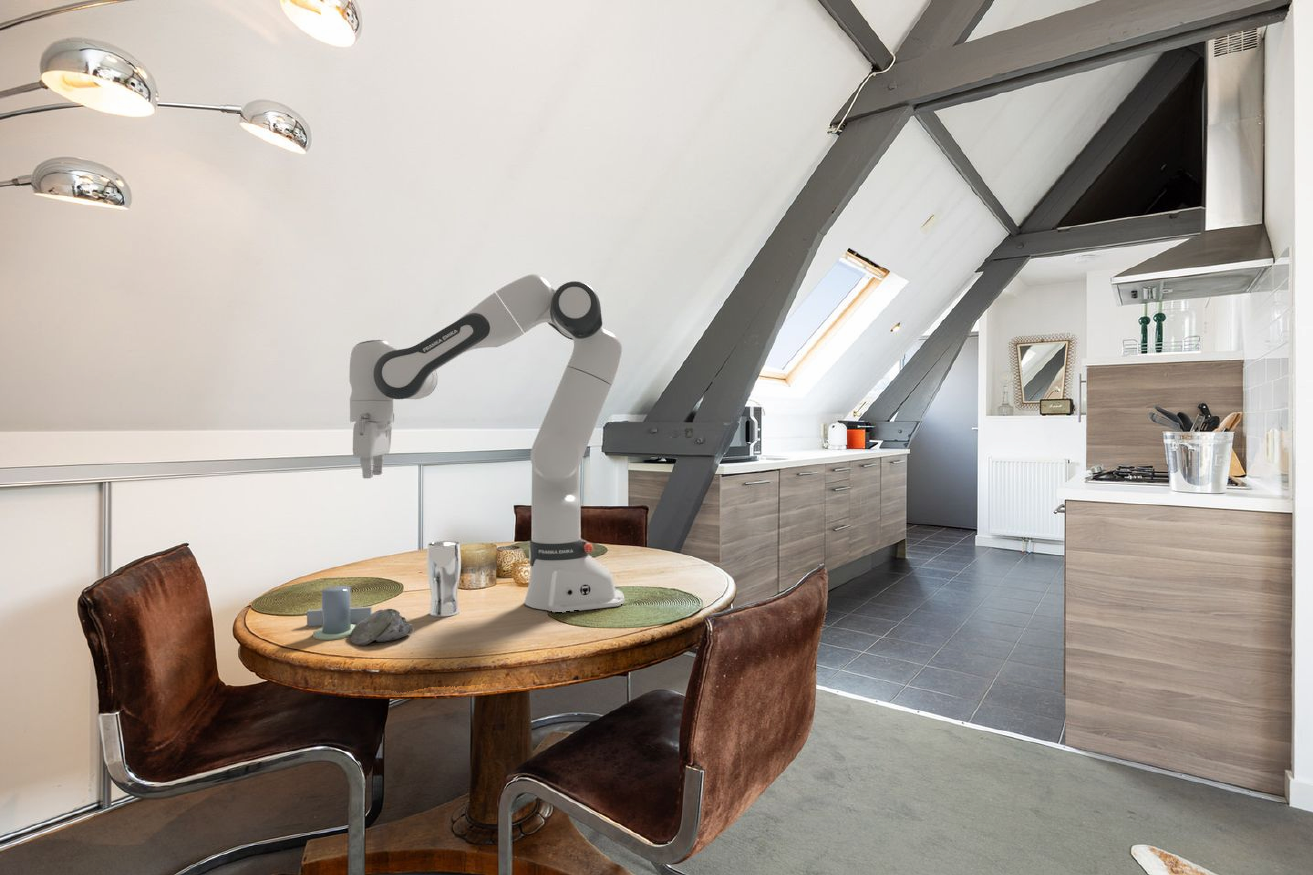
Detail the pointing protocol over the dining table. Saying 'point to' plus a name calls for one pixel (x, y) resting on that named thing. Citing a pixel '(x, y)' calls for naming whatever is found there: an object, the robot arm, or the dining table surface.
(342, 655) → the dining table surface
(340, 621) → the blue-grey cylinder
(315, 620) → the wall
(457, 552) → the beer glass
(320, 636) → the coaster
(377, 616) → the fossilized seashell
